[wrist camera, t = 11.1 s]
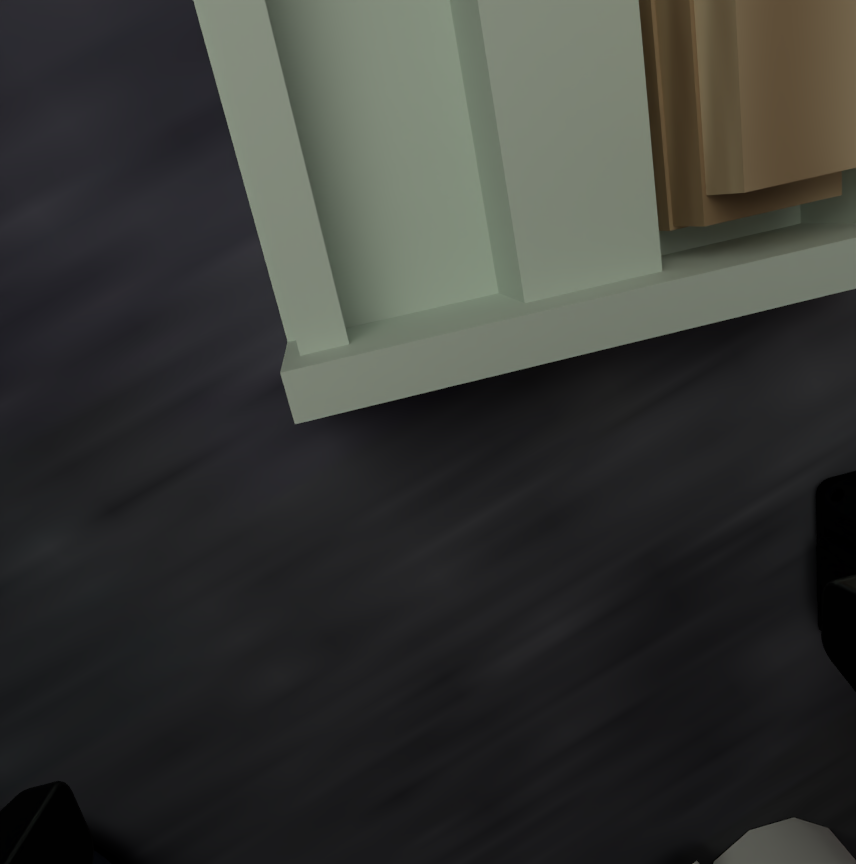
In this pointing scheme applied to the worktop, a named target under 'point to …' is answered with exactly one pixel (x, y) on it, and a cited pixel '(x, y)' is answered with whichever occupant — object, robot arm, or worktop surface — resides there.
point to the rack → (477, 193)
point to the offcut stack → (748, 105)
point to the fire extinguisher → (787, 845)
